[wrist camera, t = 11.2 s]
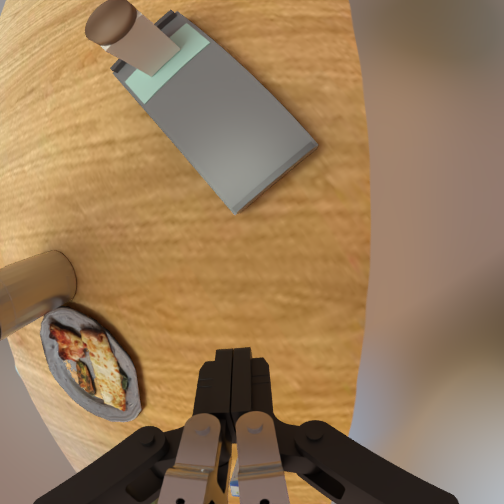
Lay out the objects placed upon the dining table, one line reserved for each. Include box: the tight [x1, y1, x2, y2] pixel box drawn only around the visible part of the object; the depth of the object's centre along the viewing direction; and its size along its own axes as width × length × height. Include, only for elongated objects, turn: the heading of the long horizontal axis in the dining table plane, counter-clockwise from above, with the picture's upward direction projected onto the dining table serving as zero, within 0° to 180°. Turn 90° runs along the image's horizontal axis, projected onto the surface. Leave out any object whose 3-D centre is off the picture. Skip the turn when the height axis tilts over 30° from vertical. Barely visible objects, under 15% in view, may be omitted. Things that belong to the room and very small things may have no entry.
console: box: [110, 10, 318, 215], centre depth 32 cm, size 26×12×4 cm, turn 41°
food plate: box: [40, 306, 141, 422], centre depth 46 cm, size 25×23×4 cm
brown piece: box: [85, 0, 181, 77], centre depth 25 cm, size 5×5×12 cm
